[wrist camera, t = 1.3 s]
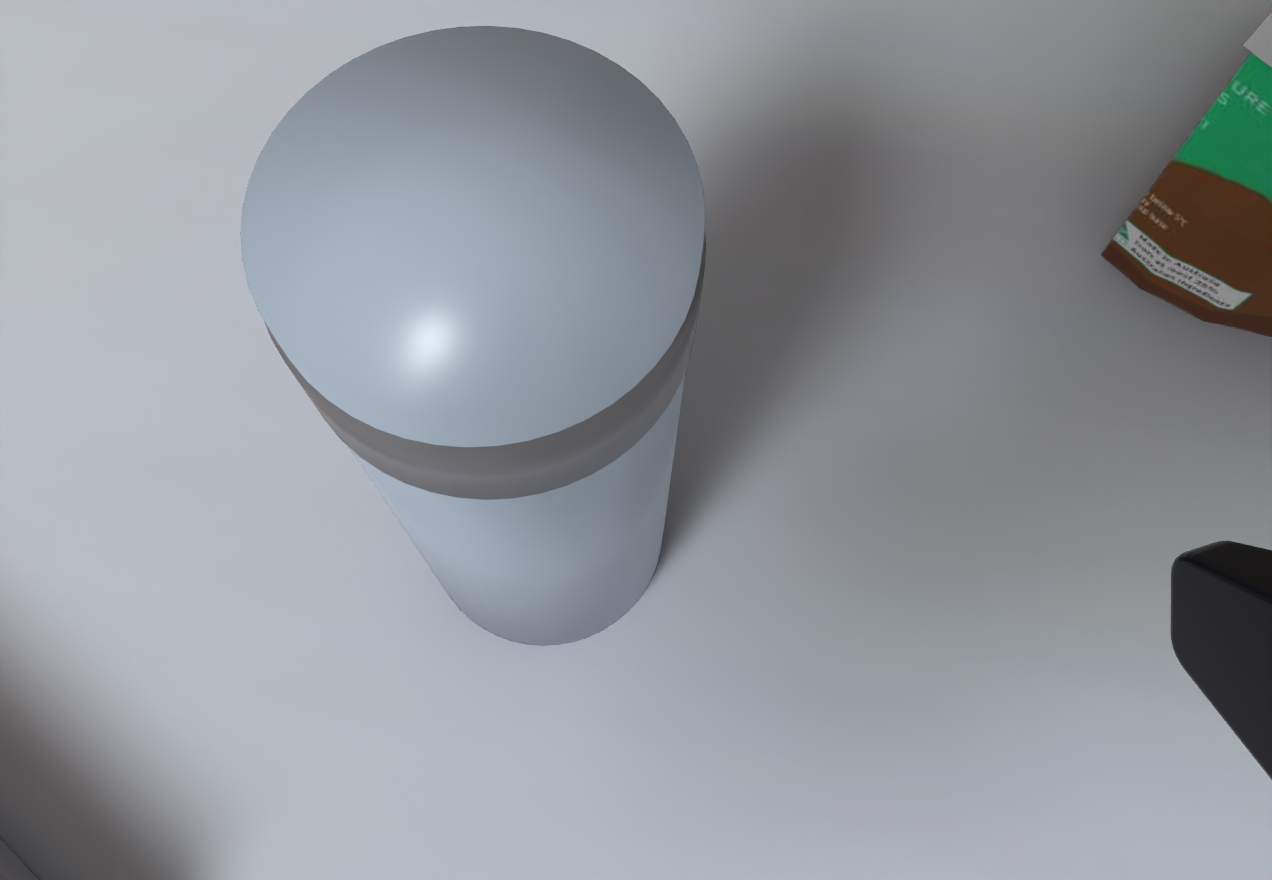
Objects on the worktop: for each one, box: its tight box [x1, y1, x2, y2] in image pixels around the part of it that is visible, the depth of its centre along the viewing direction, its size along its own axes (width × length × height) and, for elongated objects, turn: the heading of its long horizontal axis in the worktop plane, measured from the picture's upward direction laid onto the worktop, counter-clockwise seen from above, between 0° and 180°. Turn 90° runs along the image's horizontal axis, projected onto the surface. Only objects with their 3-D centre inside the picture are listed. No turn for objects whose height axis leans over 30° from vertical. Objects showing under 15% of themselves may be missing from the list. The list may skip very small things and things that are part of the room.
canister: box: [240, 26, 706, 645], centre depth 17 cm, size 5×5×12 cm
